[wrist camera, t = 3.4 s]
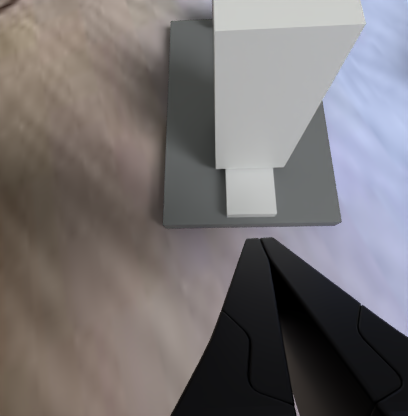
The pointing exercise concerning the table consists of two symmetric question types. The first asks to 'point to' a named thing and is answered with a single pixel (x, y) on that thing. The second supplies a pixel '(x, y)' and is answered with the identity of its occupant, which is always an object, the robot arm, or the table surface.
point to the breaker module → (274, 73)
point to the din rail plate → (242, 177)
